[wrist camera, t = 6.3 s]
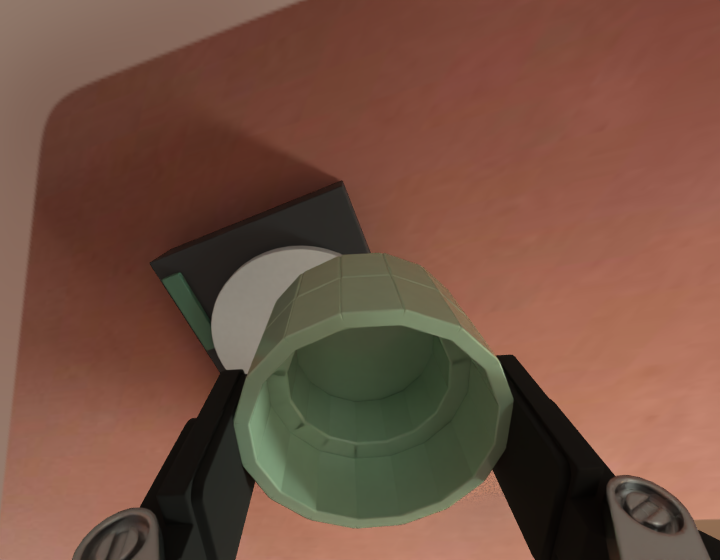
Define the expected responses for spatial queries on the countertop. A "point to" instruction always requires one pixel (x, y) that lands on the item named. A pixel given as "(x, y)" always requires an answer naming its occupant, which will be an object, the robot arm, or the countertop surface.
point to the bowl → (371, 396)
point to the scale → (255, 269)
